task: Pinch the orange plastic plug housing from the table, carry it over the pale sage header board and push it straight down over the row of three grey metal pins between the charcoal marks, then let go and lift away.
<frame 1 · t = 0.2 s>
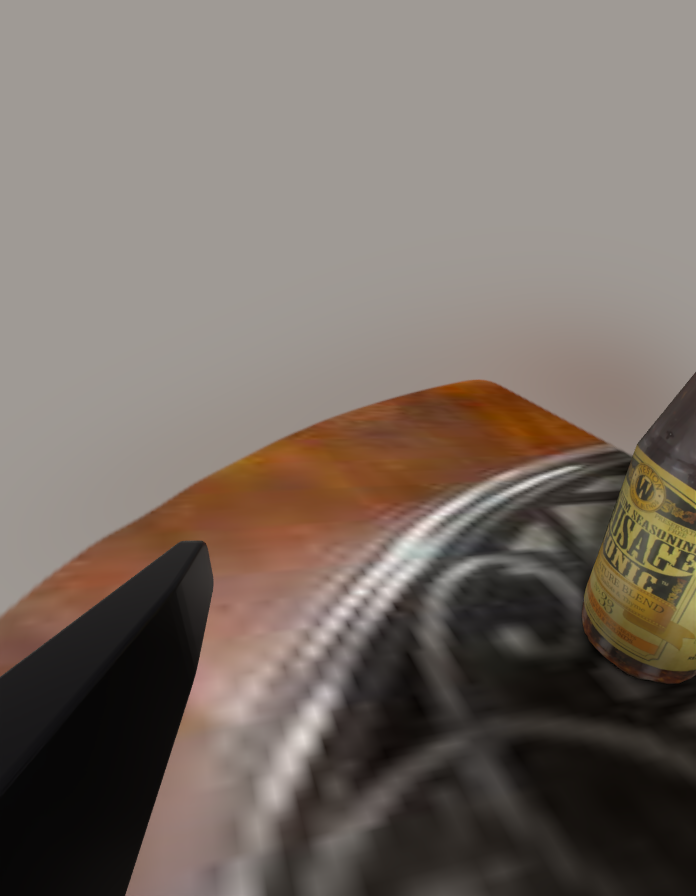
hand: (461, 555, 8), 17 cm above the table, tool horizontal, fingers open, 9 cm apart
sauce bottle: (638, 645, 26), on the table
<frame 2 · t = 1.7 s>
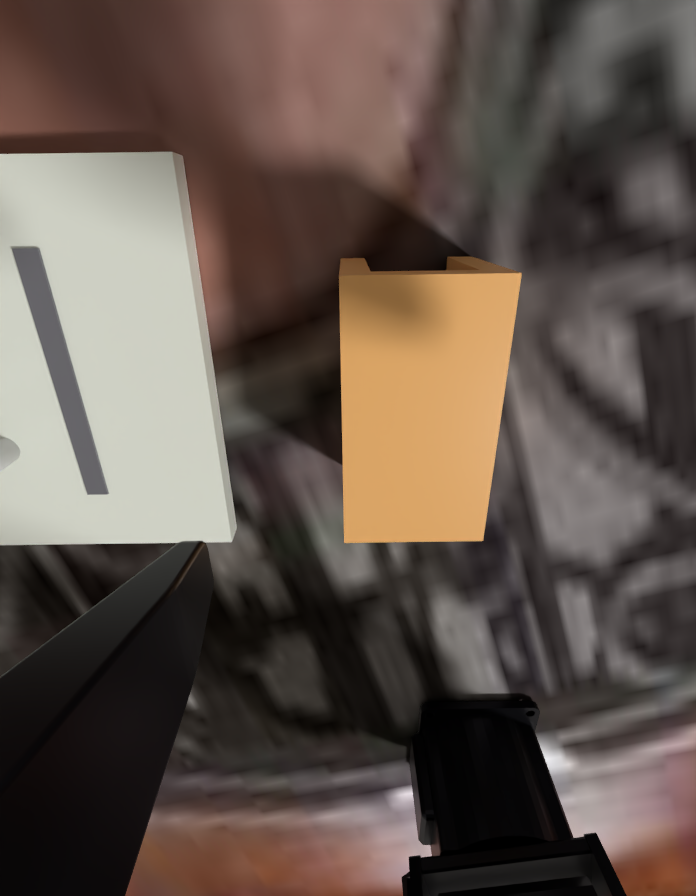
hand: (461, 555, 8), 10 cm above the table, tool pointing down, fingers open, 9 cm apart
header board: (1, 377, 17), on the table
plug housing: (401, 371, 18), on the table
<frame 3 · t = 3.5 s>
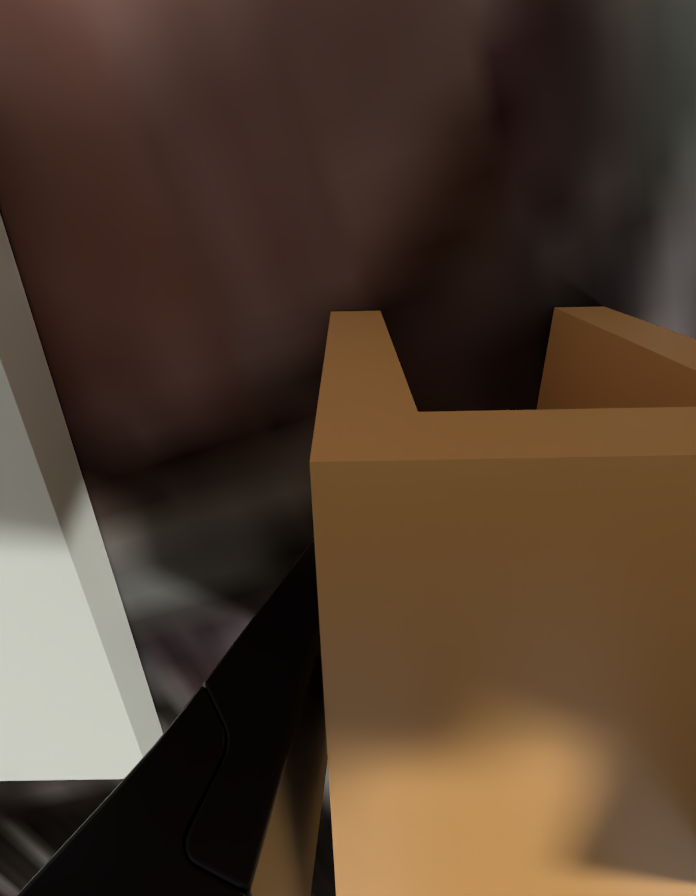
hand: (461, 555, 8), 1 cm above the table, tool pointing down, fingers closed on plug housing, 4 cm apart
plug housing: (447, 515, 9), on the table, touching gripper
when the fingers open (2 cm above the table, at t = 8.6 s): plug housing stays where it is, resting on header board.
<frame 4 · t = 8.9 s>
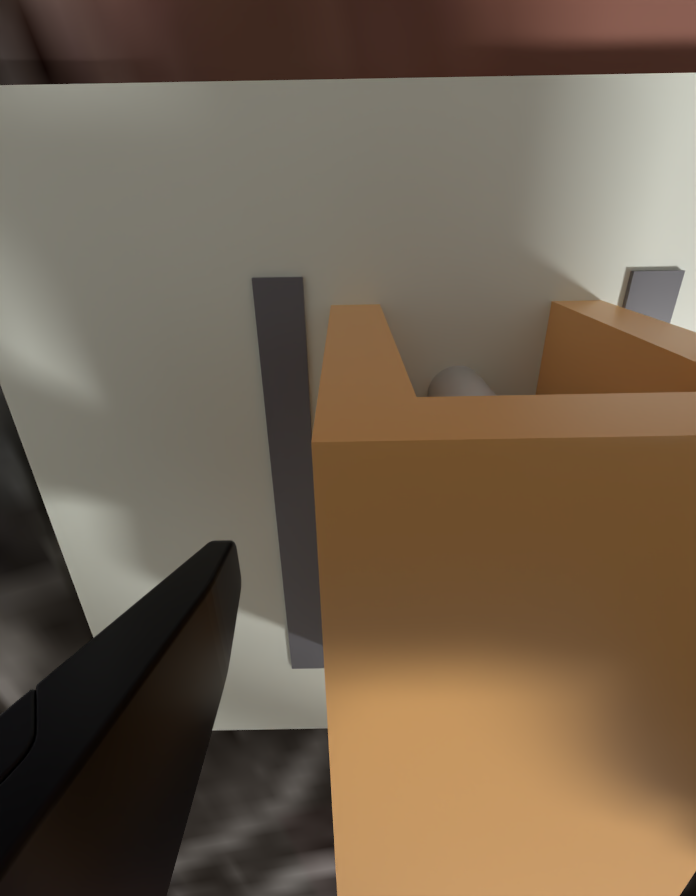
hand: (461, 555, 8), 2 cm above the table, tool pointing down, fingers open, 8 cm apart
header board: (436, 484, 10), on the table
plug housing: (446, 507, 9), point 1 cm above the table, touching header board
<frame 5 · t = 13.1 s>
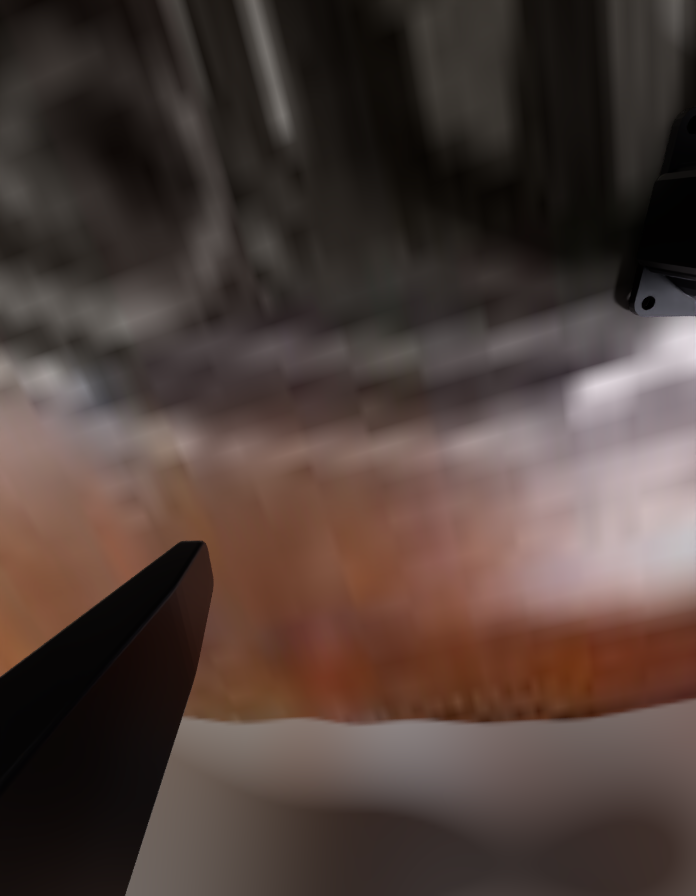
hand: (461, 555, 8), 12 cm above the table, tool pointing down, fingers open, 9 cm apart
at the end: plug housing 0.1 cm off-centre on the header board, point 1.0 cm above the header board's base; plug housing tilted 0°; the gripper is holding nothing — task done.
